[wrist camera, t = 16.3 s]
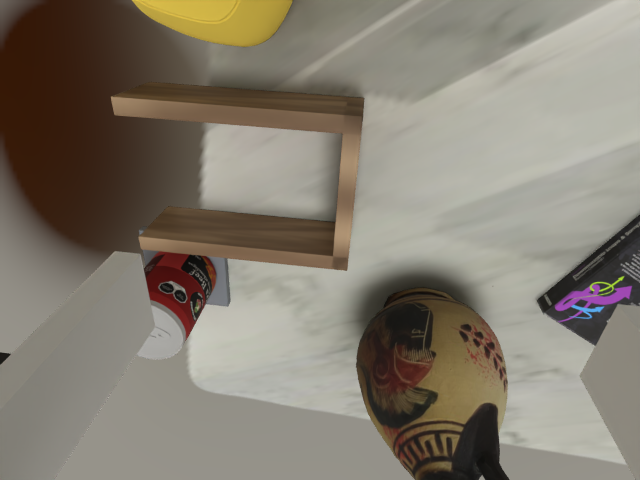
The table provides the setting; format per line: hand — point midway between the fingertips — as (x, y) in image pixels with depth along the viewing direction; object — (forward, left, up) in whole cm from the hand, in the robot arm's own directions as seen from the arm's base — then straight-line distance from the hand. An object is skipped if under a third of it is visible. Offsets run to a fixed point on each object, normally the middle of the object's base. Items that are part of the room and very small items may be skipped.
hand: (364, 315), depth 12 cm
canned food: (+22, -20, -31) cm, 43 cm away
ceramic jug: (+26, +10, -32) cm, 42 cm away
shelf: (+8, -11, -32) cm, 34 cm away
